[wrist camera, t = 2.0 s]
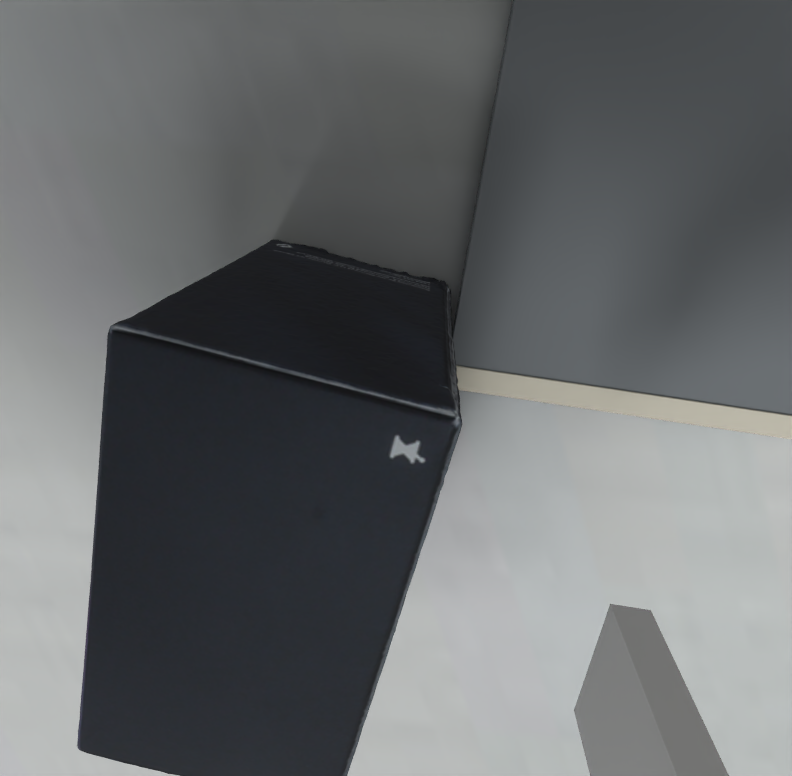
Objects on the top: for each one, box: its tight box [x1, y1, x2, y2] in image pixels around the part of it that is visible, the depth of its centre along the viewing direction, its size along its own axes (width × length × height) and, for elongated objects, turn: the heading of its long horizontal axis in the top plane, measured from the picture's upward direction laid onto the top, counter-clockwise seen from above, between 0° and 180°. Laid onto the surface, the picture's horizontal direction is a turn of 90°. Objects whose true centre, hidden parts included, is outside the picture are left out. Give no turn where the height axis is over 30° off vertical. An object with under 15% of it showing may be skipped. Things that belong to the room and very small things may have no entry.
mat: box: [452, 0, 792, 439], centre depth 18 cm, size 12×15×1 cm
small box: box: [77, 240, 462, 776], centre depth 16 cm, size 11×6×10 cm, turn 166°
